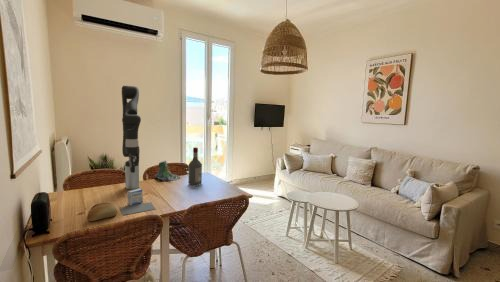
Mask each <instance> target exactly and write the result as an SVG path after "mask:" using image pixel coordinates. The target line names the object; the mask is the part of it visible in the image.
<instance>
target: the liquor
mask: <svg viewBox="0 0 500 282" xmlns="http://www.w3.org/2000/svg"><path fill="white" fill-rule="evenodd" d="M192 151H193V153H192V157H193V158H192V160H191V161H190V162H189V164H188V175H187V176H188V180H187V181H188V185H189V186H193V185H197V186H200V185H201V184H202V181H203V179H202V178H203V176H202V175H203V164H202V163H201V161H200V160H199V157H198V156H199V155H198V152H199V148H198V147H196V146H195V147H193V148H192ZM199 184H200V185H199Z"/></svg>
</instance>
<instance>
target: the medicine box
mask: <svg viewBox="0 0 500 282" xmlns="http://www.w3.org/2000/svg"><path fill="white" fill-rule="evenodd" d="M126 193H127V195H126V198H127V206H133V205H138V204H143V201H144V200H143V199H144V198H143V189H141V188H137V189H130V190H128V191H127V192H126Z"/></svg>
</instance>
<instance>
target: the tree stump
mask: <svg viewBox="0 0 500 282" xmlns="http://www.w3.org/2000/svg"><path fill="white" fill-rule="evenodd" d="M168 167H169V165H168V163H167V160H163V161H160V162H159V163H158V172H157V173H156V174H155V175H154V176H155V178H157V179H158V180H160V181H162V182H174V181H177V179H178V180H180V178H181V177H180V176H179V175H178V174H174V173H172V172H171V171H170V170H169V168H168ZM176 177H177V178H176ZM173 180H174V181H173Z"/></svg>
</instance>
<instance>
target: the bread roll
mask: <svg viewBox="0 0 500 282" xmlns="http://www.w3.org/2000/svg"><path fill="white" fill-rule="evenodd" d="M117 214H118V209H117V207H116V206H115V205H114V204H112V203H111V202H100V203H97V204H94V205H93V206H92V207H91V208H90V209H89V211H88V213H87V216H86V220H87V221H88V222H94V221H97V220H98V221H99V220H102V219H107V218H111V217H115V216H116V215H117Z"/></svg>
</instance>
